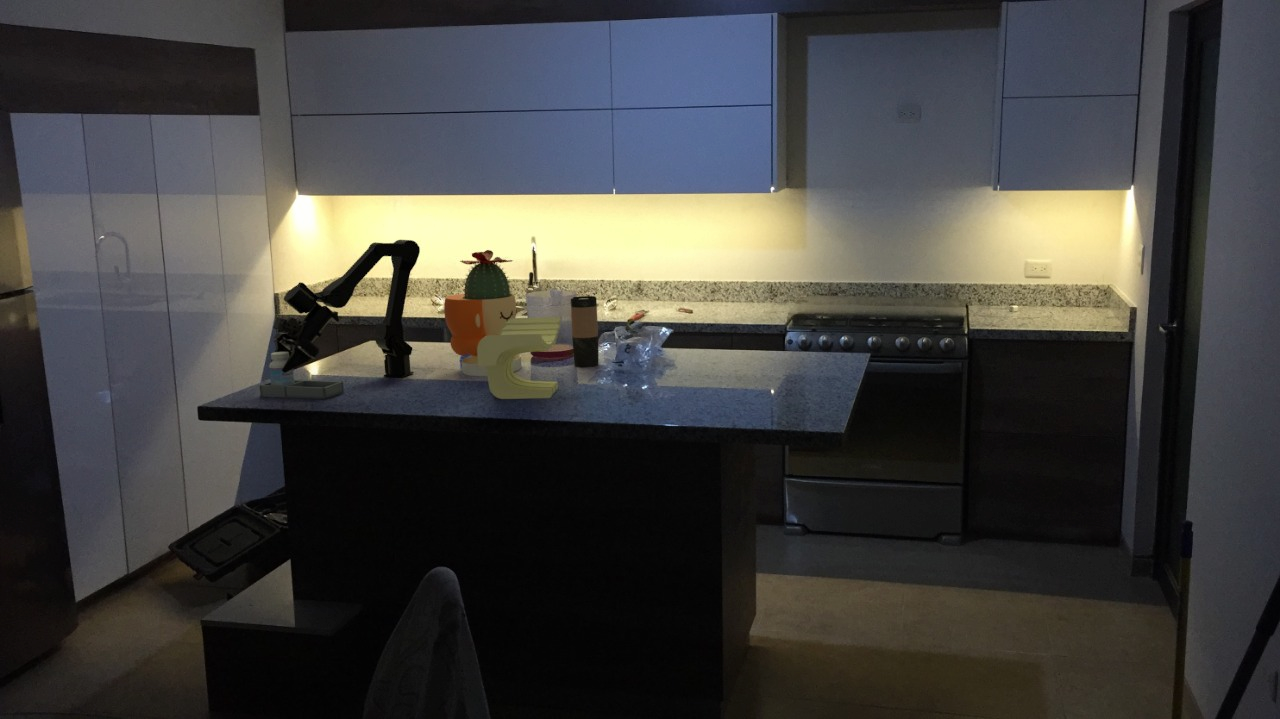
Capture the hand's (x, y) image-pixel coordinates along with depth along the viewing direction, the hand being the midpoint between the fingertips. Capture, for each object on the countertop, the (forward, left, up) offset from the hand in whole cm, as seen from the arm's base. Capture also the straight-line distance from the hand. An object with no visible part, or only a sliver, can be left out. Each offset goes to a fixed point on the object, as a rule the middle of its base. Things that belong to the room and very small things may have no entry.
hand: (276, 369), depth 296 cm
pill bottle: (-1, -1, -7) cm, 7 cm away
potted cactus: (-40, -43, -7) cm, 59 cm away
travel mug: (-68, -54, -7) cm, 87 cm away
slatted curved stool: (-67, -13, -7) cm, 68 cm away
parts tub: (-7, -1, -7) cm, 10 cm away
